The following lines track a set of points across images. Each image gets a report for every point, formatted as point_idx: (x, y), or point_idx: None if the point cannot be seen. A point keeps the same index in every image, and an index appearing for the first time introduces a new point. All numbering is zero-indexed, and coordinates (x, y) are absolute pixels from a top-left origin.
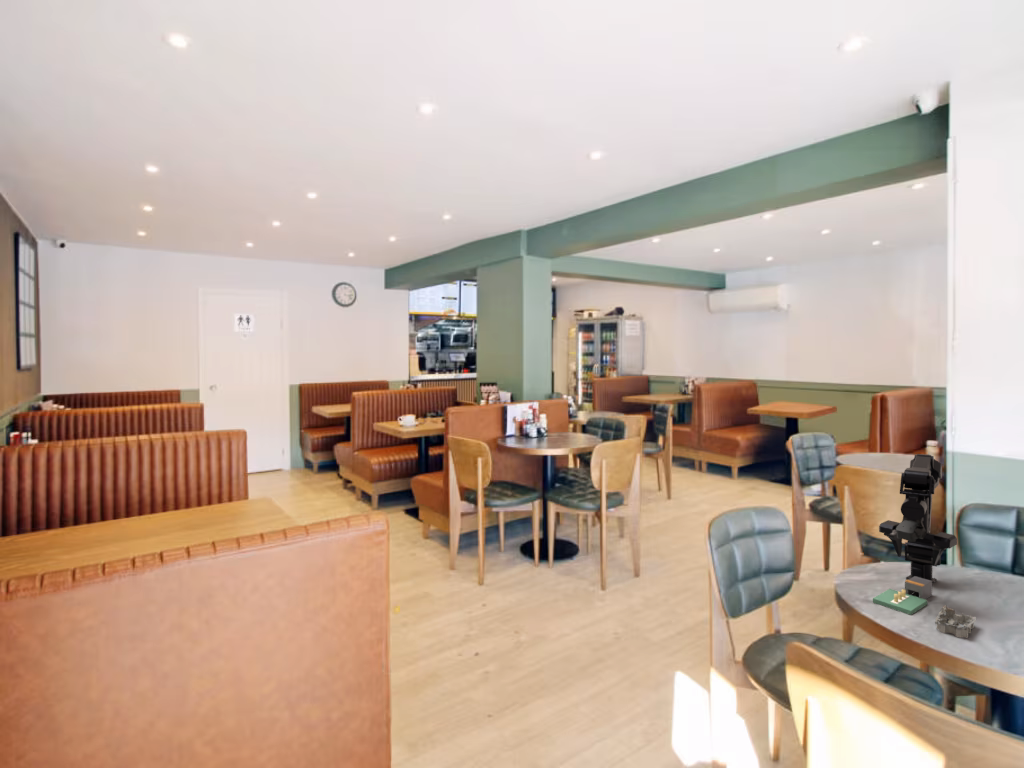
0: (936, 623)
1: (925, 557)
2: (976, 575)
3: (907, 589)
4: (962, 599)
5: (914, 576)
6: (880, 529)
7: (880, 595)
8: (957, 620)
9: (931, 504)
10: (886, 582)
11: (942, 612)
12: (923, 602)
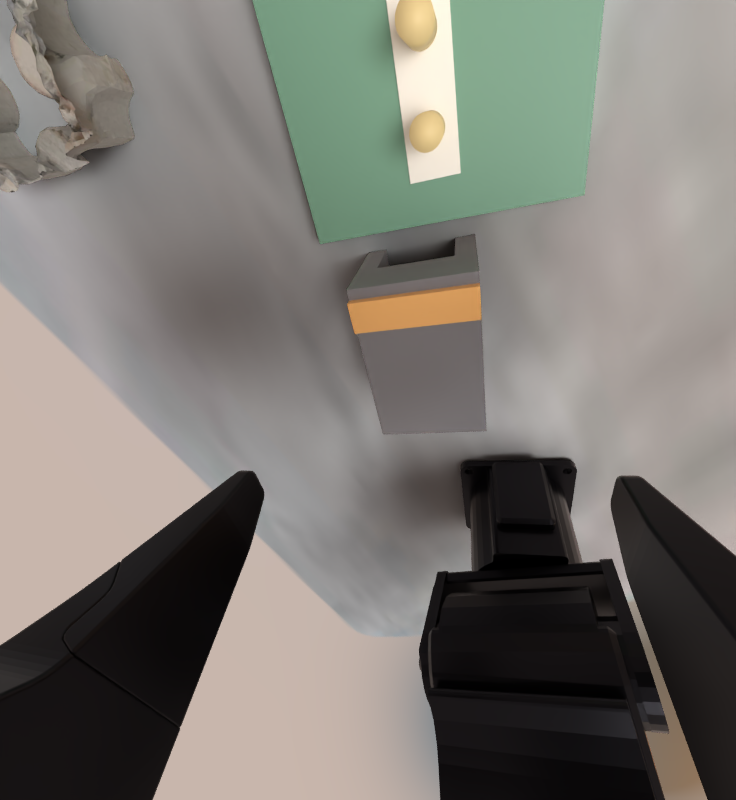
0: None
1: (475, 606)
2: (415, 609)
3: (456, 254)
4: (306, 431)
5: (483, 423)
6: None
7: None
8: None
9: None
10: (655, 346)
11: (31, 12)
12: (303, 178)
